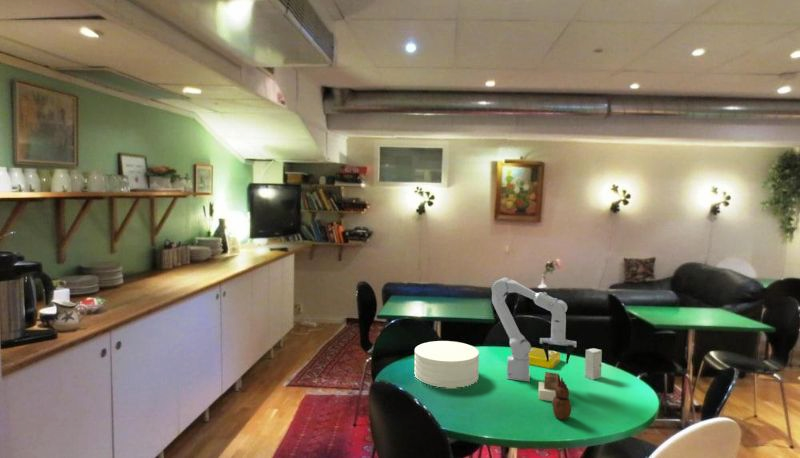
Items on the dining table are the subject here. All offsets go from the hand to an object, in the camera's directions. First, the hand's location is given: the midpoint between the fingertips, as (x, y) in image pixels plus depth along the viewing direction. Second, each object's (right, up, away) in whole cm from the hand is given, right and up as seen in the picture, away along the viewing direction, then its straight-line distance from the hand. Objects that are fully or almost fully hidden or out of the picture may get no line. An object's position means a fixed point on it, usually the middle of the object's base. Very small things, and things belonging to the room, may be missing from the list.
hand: (557, 361), depth 198 cm
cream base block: (-6, -11, -11) cm, 17 cm away
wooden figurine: (-8, -12, -29) cm, 33 cm away
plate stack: (-46, -9, +10) cm, 48 cm away
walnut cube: (-6, -7, -11) cm, 15 cm away
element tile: (+2, -9, +30) cm, 31 cm away
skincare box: (+19, -10, +10) cm, 23 cm away
